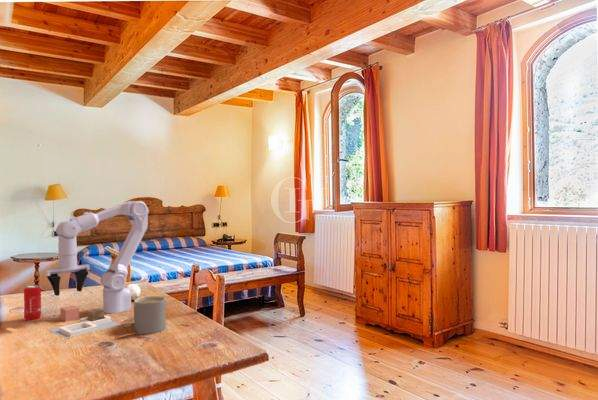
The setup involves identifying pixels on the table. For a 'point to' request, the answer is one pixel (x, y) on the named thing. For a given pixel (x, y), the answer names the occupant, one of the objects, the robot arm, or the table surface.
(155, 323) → the coffee mug
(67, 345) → the table surface
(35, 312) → the beverage can
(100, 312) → the walnut cube
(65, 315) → the brick-red block
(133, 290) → the ornament
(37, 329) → the table surface
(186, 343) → the table surface
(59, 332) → the board
